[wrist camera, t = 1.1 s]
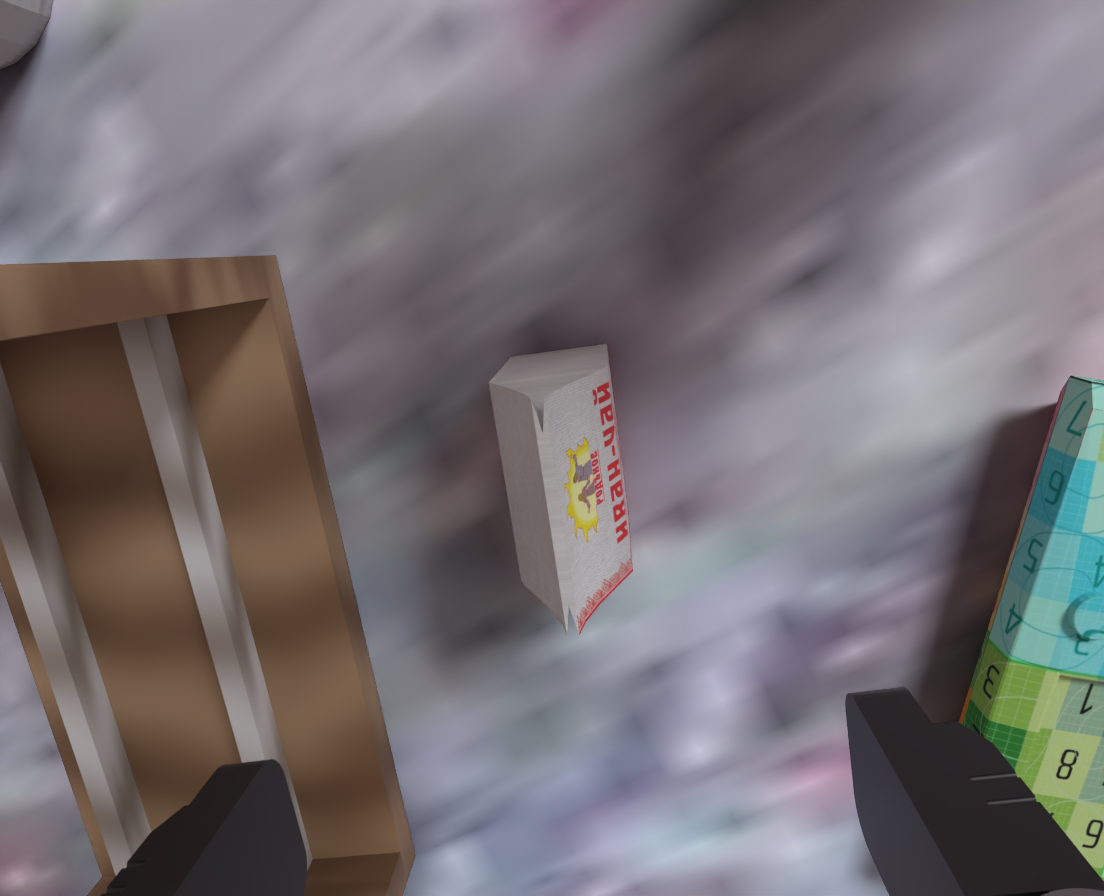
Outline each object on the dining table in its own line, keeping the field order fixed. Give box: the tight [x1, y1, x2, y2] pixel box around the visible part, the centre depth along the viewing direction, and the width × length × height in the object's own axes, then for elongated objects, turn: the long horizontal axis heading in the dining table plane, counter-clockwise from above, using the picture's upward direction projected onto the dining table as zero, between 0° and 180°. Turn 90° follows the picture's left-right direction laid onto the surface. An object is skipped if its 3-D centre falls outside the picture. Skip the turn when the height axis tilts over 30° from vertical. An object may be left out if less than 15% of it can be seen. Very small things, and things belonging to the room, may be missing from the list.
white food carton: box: [489, 344, 633, 635], centre depth 26 cm, size 4×7×10 cm, turn 8°
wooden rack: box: [0, 255, 415, 896], centre depth 27 cm, size 27×14×16 cm, turn 9°
